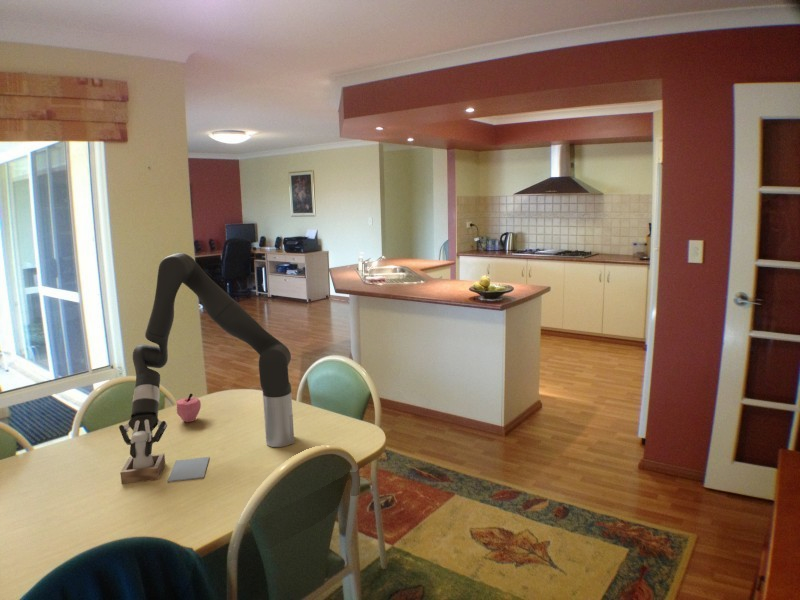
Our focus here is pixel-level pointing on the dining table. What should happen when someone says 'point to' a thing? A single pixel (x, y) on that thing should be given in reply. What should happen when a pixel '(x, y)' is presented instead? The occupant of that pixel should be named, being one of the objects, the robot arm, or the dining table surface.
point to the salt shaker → (141, 451)
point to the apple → (188, 408)
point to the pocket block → (143, 470)
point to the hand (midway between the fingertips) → (140, 456)
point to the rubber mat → (189, 469)
